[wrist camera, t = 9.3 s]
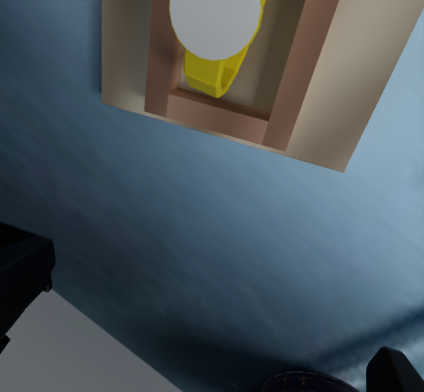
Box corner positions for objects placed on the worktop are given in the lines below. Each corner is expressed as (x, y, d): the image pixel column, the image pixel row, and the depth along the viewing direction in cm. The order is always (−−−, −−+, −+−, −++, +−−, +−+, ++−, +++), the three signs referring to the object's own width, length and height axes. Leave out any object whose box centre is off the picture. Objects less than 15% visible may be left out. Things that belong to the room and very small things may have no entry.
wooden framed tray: (110, 99, 19) (86, 109, 17) (115, -201, 12) (76, -246, 10) (341, 165, 17) (346, 185, 15) (487, -141, 11) (531, -179, 9)
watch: (240, -75, 13) (204, -159, 7) (303, -50, 12) (312, -117, 7) (195, 72, 16) (146, 86, 10) (246, 93, 15) (222, 119, 10)
